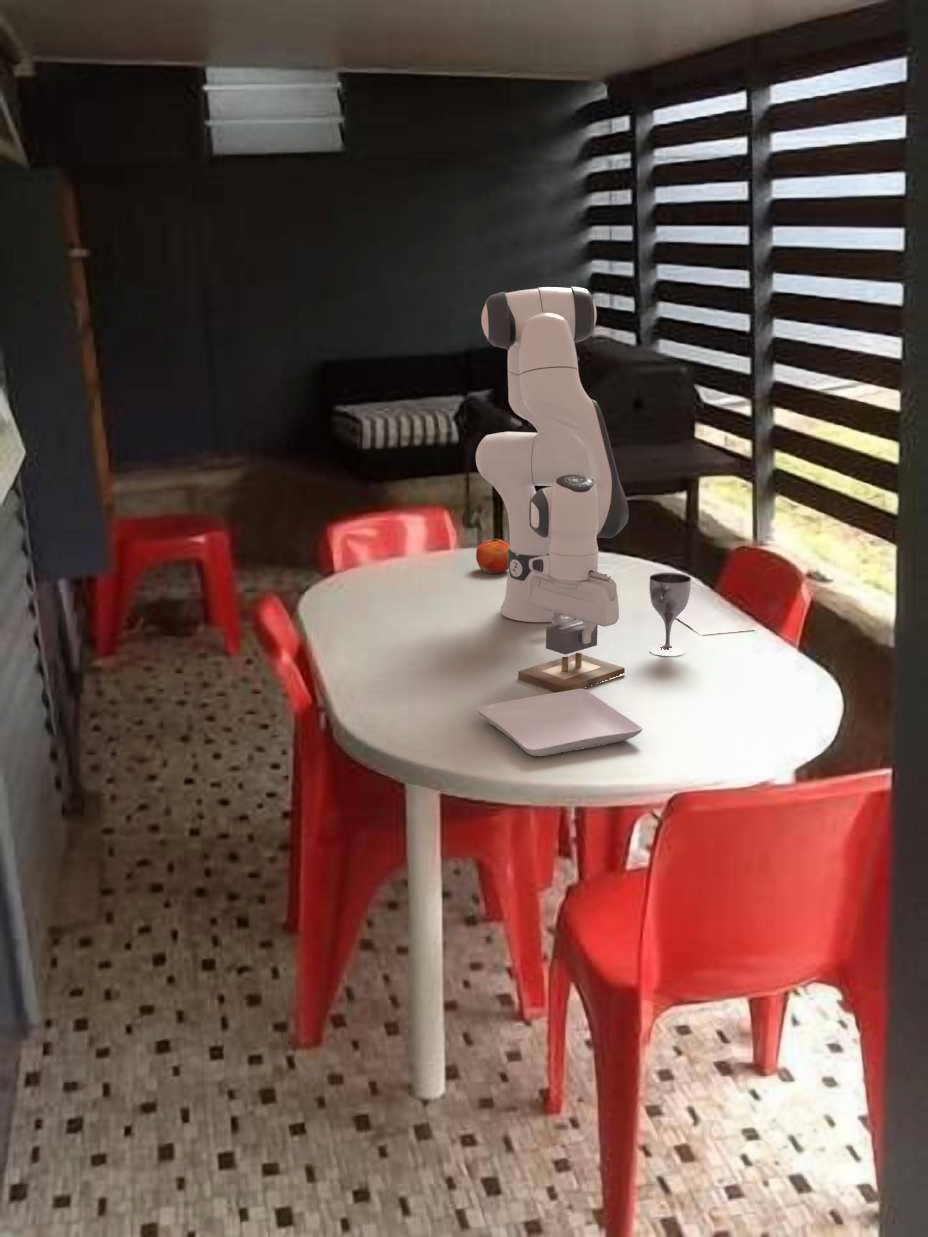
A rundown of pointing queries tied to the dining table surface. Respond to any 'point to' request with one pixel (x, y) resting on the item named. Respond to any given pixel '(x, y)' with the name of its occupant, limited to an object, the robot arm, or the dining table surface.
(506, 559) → the tomato
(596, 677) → the pin board
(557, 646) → the socket block
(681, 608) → the wine glass
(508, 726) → the salad plate
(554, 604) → the robot arm
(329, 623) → the dining table surface
